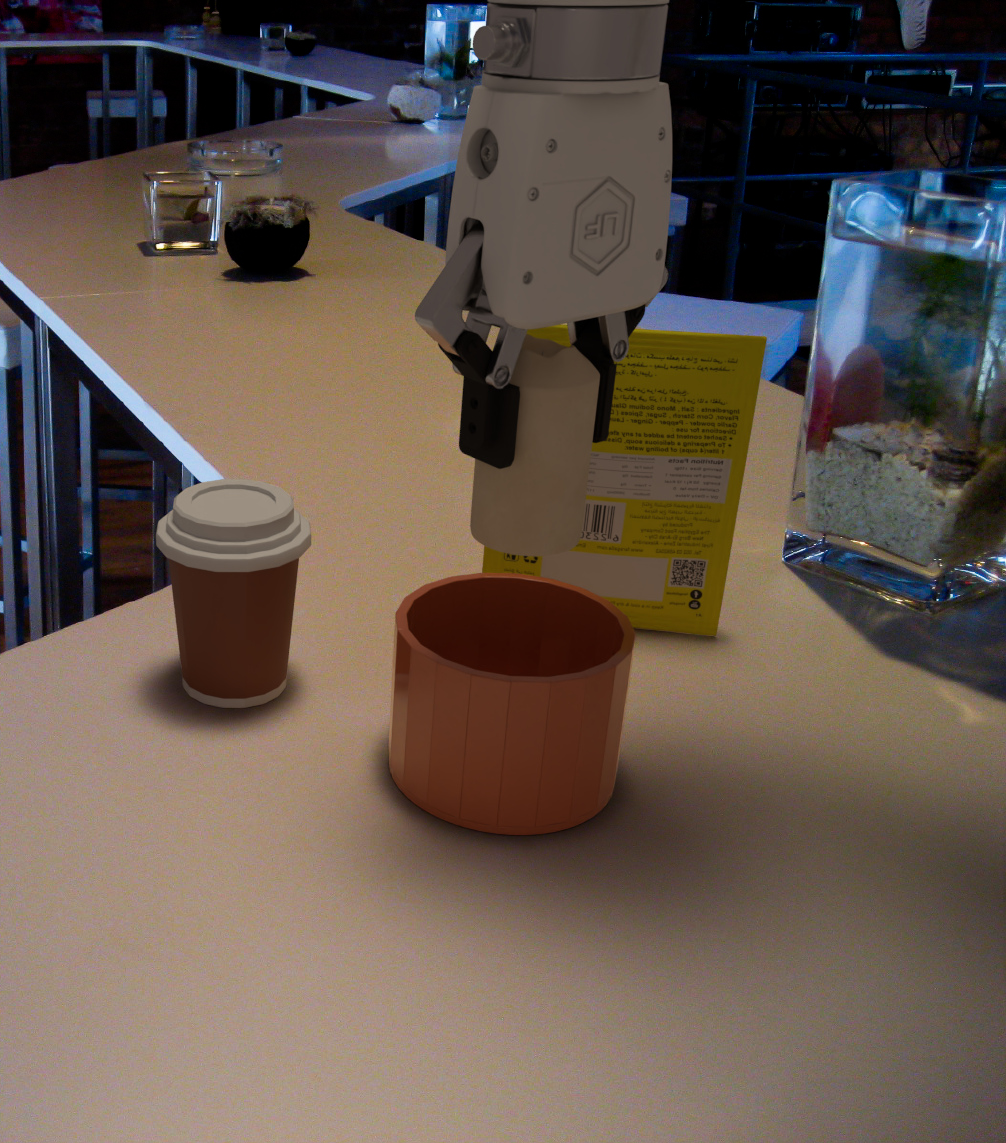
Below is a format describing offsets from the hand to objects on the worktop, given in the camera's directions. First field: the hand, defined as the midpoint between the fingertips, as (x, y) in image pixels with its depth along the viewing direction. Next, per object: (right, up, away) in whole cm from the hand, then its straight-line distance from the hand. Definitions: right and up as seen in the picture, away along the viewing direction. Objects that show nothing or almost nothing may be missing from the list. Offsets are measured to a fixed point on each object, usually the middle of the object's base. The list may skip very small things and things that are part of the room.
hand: (533, 443), depth 65 cm
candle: (0, -5, +2) cm, 5 cm away
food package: (+9, -10, +24) cm, 27 cm away
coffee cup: (-15, -13, +17) cm, 26 cm away
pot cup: (0, -17, +8) cm, 19 cm away
